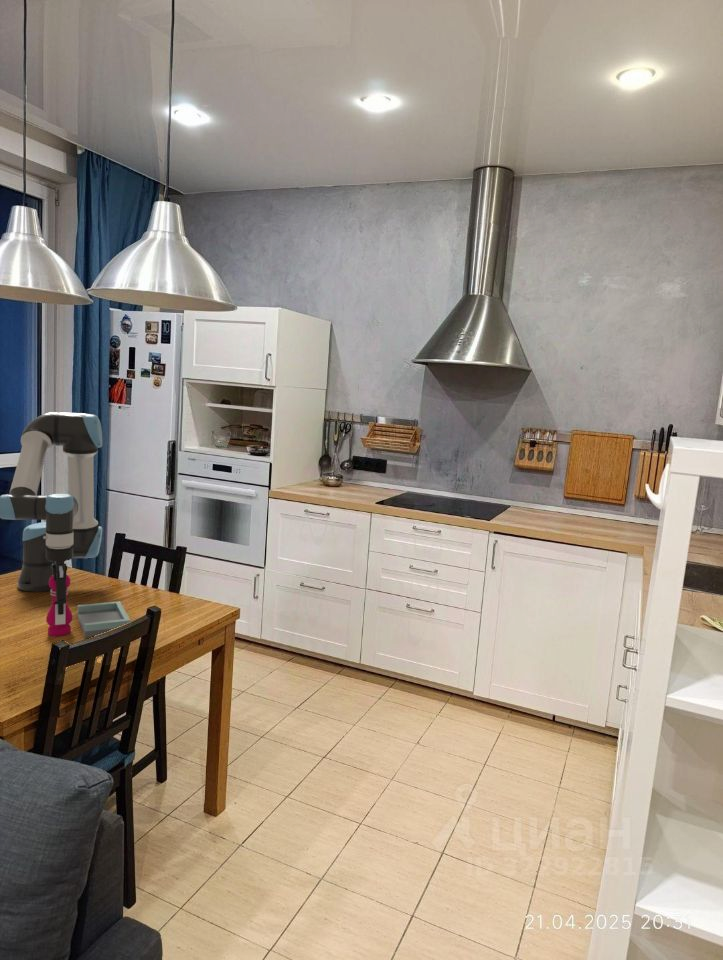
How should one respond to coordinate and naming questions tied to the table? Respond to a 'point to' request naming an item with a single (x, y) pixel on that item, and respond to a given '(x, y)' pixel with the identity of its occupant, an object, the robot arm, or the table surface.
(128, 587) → the table surface
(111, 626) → the tray
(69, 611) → the pepper mill
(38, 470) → the robot arm
